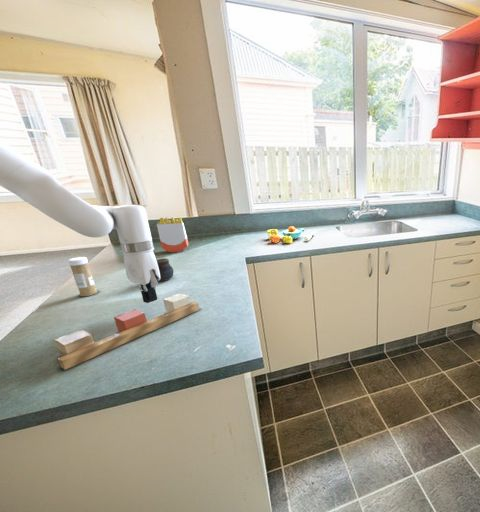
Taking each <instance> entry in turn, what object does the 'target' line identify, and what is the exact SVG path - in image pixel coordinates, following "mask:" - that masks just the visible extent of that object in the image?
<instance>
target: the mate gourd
mask: <svg viewBox="0 0 480 512" xmlns="http://www.w3.org/2000/svg"><path fill="white" fill-rule="evenodd" d="M156 261H157V264H158V268H159V272H160V280H159V281H158V282H165V281H169V280H171V279H172V278H173V277H174V268H173V267H172V265H171V264H170V261H169V258H165V257H164V258H157V259H156Z"/></svg>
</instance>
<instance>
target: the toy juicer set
mask: <svg viewBox="0 0 480 512" xmlns="http://www.w3.org/2000/svg"><path fill="white" fill-rule="evenodd" d="M266 232H267V236H268V239H269V242H270V243H274V244H277V243H279V242H280V241H281V240H282V242H283V244H292V243H293V240H297V239H298V238H299V237H300V236H301V234H302V233H304V232H305V228H296V227H295V226H293V225H290V226H289V227H288V228H287V229H284V230H281V232H280V234H281V235H283V236H282V237H281V236H280V235H279V234H278V233H279V232H278V229H275V228H272V229H268V230H266ZM314 233H315V234H316V231H313V232H311V233H310V234H311V235H310V234H307V235H306V236H305V237H304V241H305V242H309V240H311V238H312V237H313V236H314V235H315V234H314ZM313 234H314V235H313ZM312 235H313V236H312ZM269 237H270V238H269ZM297 237H298V238H297ZM281 238H282V239H281ZM292 238H293V239H292Z"/></svg>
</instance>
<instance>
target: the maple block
mask: <svg viewBox="0 0 480 512" xmlns="http://www.w3.org/2000/svg"><path fill="white" fill-rule="evenodd" d="M54 342H55V345H56V348H57V351H58V353H59V356H60V357H62V356H65V355H67V354H70V353H72V352H74V351H77V350H79V349H82V348H84V347H86V346H89V345H91V344H94V343H95V340H94V338H93V335H92V333H90V332H88V331H85V330H83V329H79V330H76V331H74V332H71V333H69V334H65V335H63V336H60V337H58V338H55V339H54Z"/></svg>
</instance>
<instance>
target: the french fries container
mask: <svg viewBox="0 0 480 512" xmlns="http://www.w3.org/2000/svg"><path fill="white" fill-rule="evenodd" d="M156 227H157V233H158V236H159V241H160V245H161V249H163V250H164V251H166V252H167V253H180V252H183V251H184V250H185V249H186V248H187V247H188V246H189V240H188V235H187V232H186V227H185V224H184V222H183V219H182V217H178V218H175V217H174V216H171V220H170V219H168V217H165V218H164V217H159V221H158V222H157V224H156Z"/></svg>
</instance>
